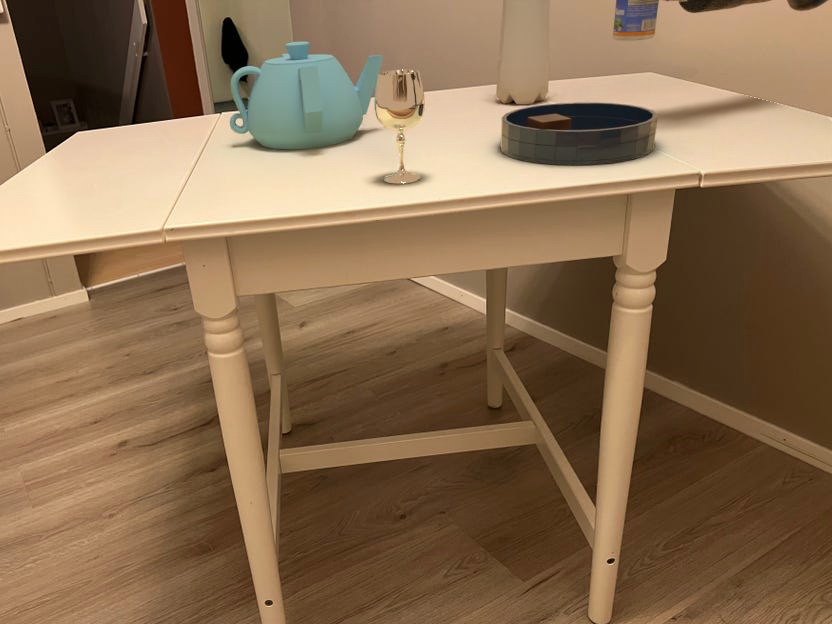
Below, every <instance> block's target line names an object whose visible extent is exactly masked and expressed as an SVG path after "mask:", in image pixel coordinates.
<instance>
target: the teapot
mask: <svg viewBox="0 0 832 624" xmlns="http://www.w3.org/2000/svg"><path fill="white" fill-rule="evenodd" d="M284 46H285V49H286V51H287V53H281V57H276V58H275V57H274V58H270V59H267V60H265V61H264V62H263V63H262V65H261V67H260V68H259V67H256V66H253V65H247V66H243V67H240V68H239V69H237V70H236V71H235V72H234V73H233V74H232V76H231V79H230V85H229V86H230V92H231V95H232V98H233V100H234V102H235V105H236V108H237V111H238V113H237V112H236V113H233V115H231V116H230V119H229V127H230V130H231V131H233V132H234V133H236V134H239V135H244V134H246V133H249V134H250V135H251V136H252V137H253V138H254V139H255V141H256V142H258V143H259V145H261V146H262V147H265V148H269V149H274V150H306V149H315V148H316V149H317V148H322V147H328V146H329V147H330V146H334V145H339V144H342V143H345V142H347V141H349V140H351V139H352V138H353V137H354V136H355V134H356V133H357V132H358V130H359V128H360V127H361V125H362V123H363V120H364V115H367V113H368V110H369V106H370V103H371V100H372V96H373V93H374V91H375V88H376V81H377V76H378V73H380V71H381V67H382V63H383V61H384V55H382V54H381V55H379V54H378V55H368V57H367V58H368V59H367V61H366V63H365V65H364V67H363V69H362V71H361V73H360V76H359V77H358V80H357V82H356V85H354V83H353V81H352V80H351V78H350V76H349V75H348V73H347V72H346V70H345V69H344V67H343V66H342V64H341V63H340V62H339V60H338V59H337V58H336V57H335V56H334V55H333V54H323V53H321V54H320V53H318V54H316V53H315V54H309V52H310V51H309V50H310V47H311V42H309V41H293V42H288V43H285V45H284ZM246 75H254V76H256V77H255V80H254V83H253V85H252V87H251V90H250V93H249V98H248V101H247V108H246V105H245V104H244V101H243V99H242V96H241V93H240V89H239V81H240V79H241V78H242V77H244V76H246ZM238 119H241V120H242V125H241V126H240V125H238V124H237V120H238Z"/></svg>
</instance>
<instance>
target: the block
mask: <svg viewBox="0 0 832 624" xmlns="http://www.w3.org/2000/svg"><path fill="white" fill-rule="evenodd" d="M571 120H572V119H571V118H568V117H565V116H562V115H558V114H549V115H541V116H533V117H528V121H527V127H529V128H536V129H549V130H571Z"/></svg>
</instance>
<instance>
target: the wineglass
mask: <svg viewBox="0 0 832 624" xmlns="http://www.w3.org/2000/svg"><path fill="white" fill-rule="evenodd" d="M424 91H425V90H424V86H423V81H422V77H421V73H420V70H418V69H411V68H410V69H407V68H405V69H391V70H384V71H381V72H380V71H379V73H378V76H377V80H376V84H375V88H374V111H375V112H374V113H375V117H376V118H377V121H378V122H379V124H380V125H382V126H383V127H384V128H386V129H389V130H391V131H395V132H397V135H396V145H397V147H398V153H399V155H398V156H399V167H398V170H397V171H396V172H395V173H391V174H388V175H386V176H384V178H383V181H384V182H386V183H388V184H394V185H396V184H397V185H400V184H401V185H402V184H410V183H415V182H418V181H420V180H421V178H422V177H421V175H420V174H418V173H414V172H409V171H407V170H406V168H405V163H404V148H405V143H406V137H405V135H404V131H407V130H410V129H413V128H414V127H416V126H417V125H418V124H419V123H420V121H422V118H423V117H424V114H425V107H426V101H425V92H424Z"/></svg>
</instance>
